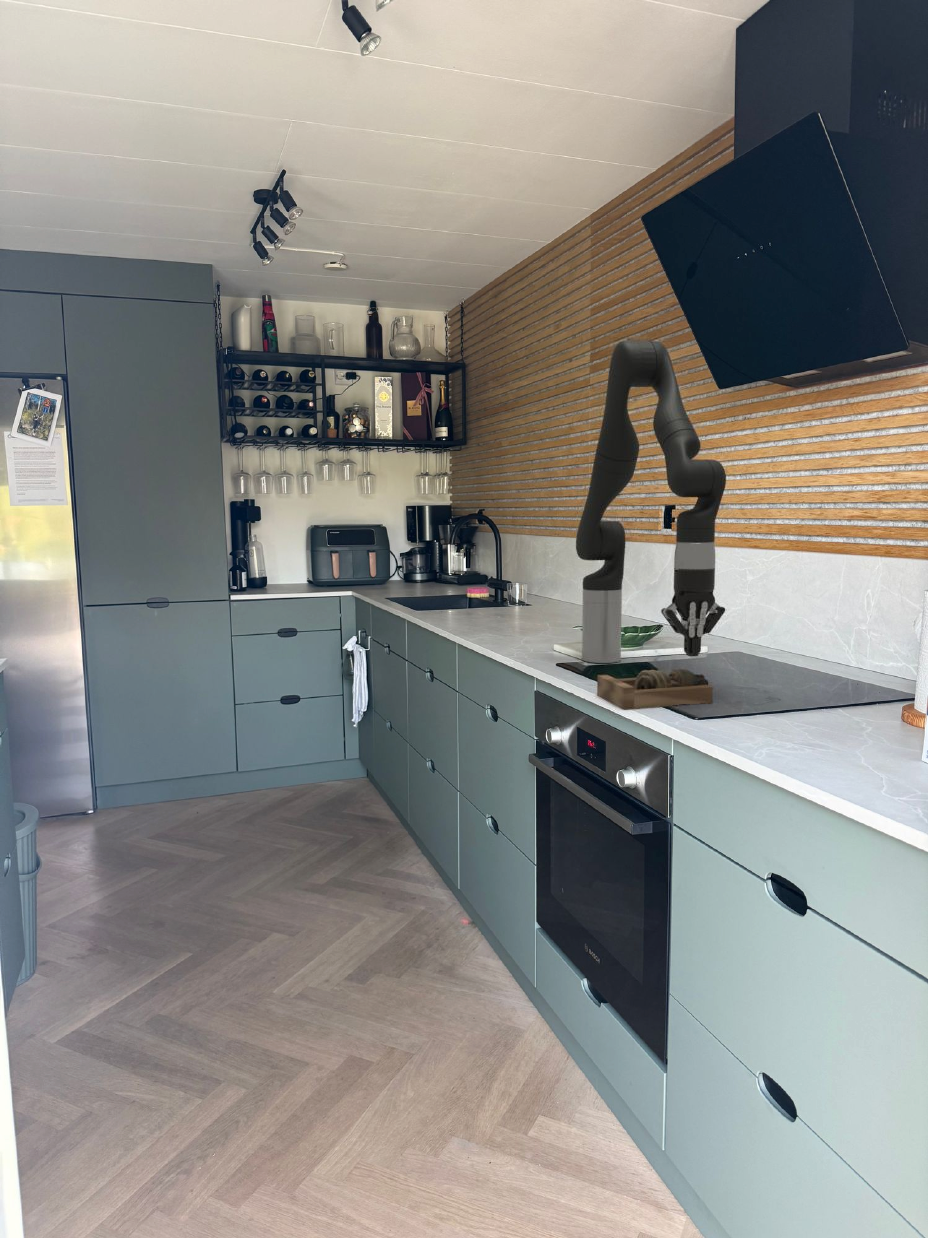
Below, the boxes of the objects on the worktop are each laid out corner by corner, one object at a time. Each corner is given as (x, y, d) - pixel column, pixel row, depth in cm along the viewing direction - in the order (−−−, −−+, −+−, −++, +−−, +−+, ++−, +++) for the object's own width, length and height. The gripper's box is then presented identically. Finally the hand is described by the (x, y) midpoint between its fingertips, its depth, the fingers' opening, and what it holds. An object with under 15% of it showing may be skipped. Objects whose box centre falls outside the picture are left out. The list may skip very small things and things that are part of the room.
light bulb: (697, 690, 162) (629, 695, 158) (699, 663, 161) (630, 667, 157) (714, 698, 157) (643, 703, 153) (715, 670, 156) (645, 674, 152)
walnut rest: (597, 695, 161) (597, 675, 160) (679, 689, 165) (680, 669, 165) (624, 709, 149) (624, 688, 149) (712, 702, 154) (712, 681, 153)
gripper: (714, 563, 161) (712, 650, 164) (653, 565, 158) (651, 654, 160) (736, 566, 154) (733, 657, 156) (672, 568, 151) (670, 661, 153)
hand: (692, 655), depth 158 cm, fingers closed
